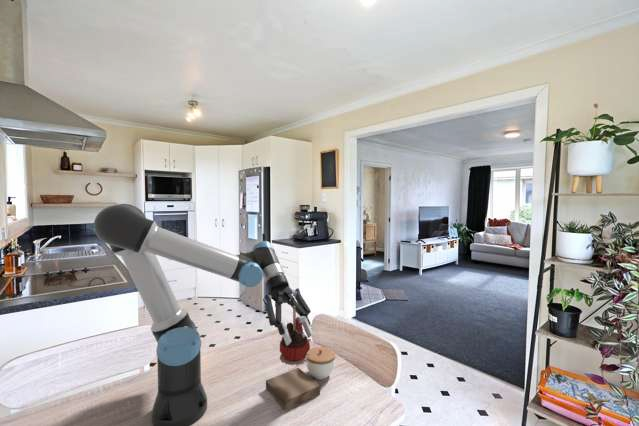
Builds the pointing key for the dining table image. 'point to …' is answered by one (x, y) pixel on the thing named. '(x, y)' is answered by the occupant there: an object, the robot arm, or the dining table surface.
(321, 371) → the lidded jar
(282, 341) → the cake
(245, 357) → the dining table surface
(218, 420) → the dining table surface
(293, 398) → the plinth
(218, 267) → the robot arm
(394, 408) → the dining table surface
